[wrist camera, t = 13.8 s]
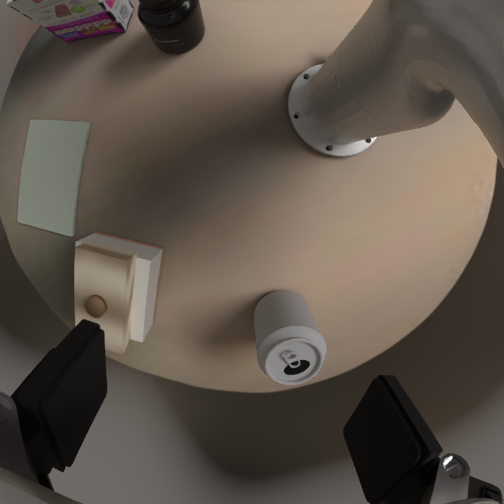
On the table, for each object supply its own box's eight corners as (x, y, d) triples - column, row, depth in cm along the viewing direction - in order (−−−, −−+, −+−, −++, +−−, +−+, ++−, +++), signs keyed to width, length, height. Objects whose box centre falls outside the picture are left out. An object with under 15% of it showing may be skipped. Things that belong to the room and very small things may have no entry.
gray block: (97, 231, 35) (75, 241, 29) (164, 247, 36) (150, 260, 30) (93, 302, 38) (75, 320, 32) (154, 320, 39) (142, 342, 33)
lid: (88, 240, 29) (70, 249, 26) (137, 253, 30) (123, 264, 26) (86, 327, 32) (73, 343, 28) (130, 342, 33) (119, 359, 29)
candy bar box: (135, 6, 27) (92, -55, 11) (126, 32, 28) (74, -25, 12) (74, 17, 26) (19, -25, 10) (65, 43, 27) (3, 6, 11)
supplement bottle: (165, 63, 30) (135, 23, 18) (149, 29, 28) (119, -14, 16) (214, 41, 29) (203, -7, 18) (195, 8, 28) (180, -42, 16)
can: (265, 342, 40) (273, 399, 29) (244, 300, 38) (246, 350, 27) (314, 323, 40) (337, 375, 28) (296, 278, 38) (319, 322, 26)
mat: (33, 120, 30) (30, 119, 29) (91, 122, 31) (89, 122, 31) (19, 221, 34) (17, 221, 33) (74, 236, 35) (71, 236, 35)
